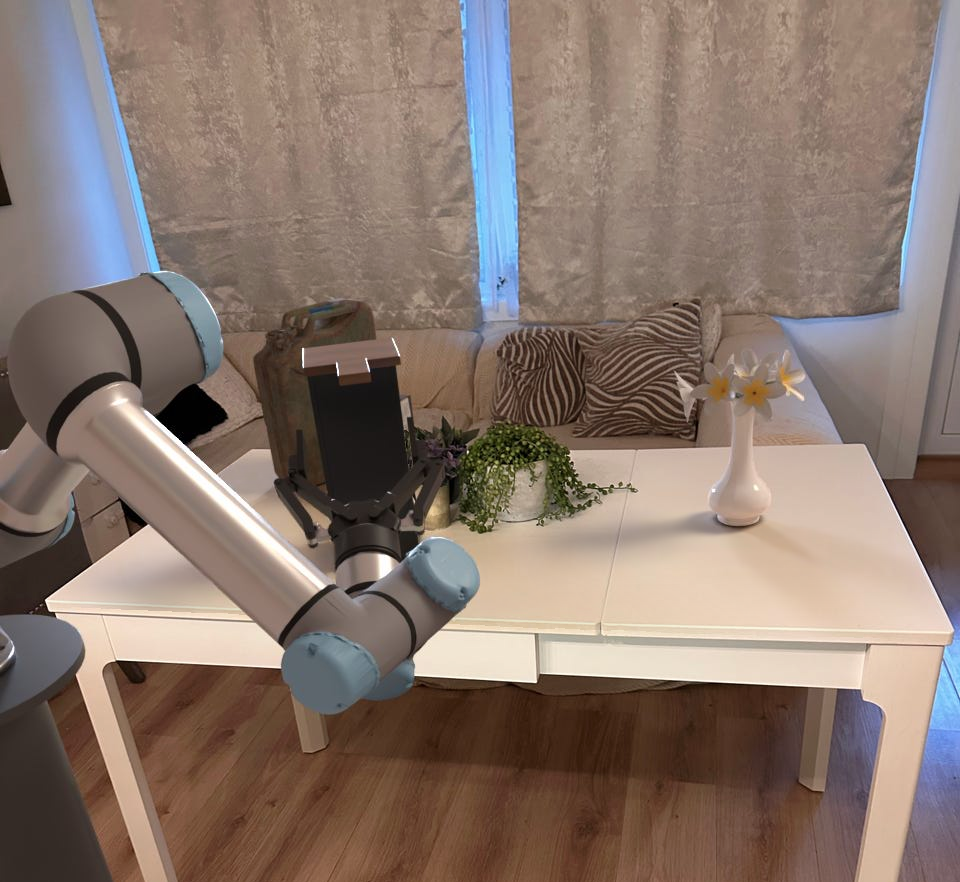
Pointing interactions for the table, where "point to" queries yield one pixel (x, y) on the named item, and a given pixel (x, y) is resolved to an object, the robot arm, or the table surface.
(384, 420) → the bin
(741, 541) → the table surface
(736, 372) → the flower vase
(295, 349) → the container
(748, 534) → the table surface
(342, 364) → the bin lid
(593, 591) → the table surface
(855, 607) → the table surface
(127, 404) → the robot arm
